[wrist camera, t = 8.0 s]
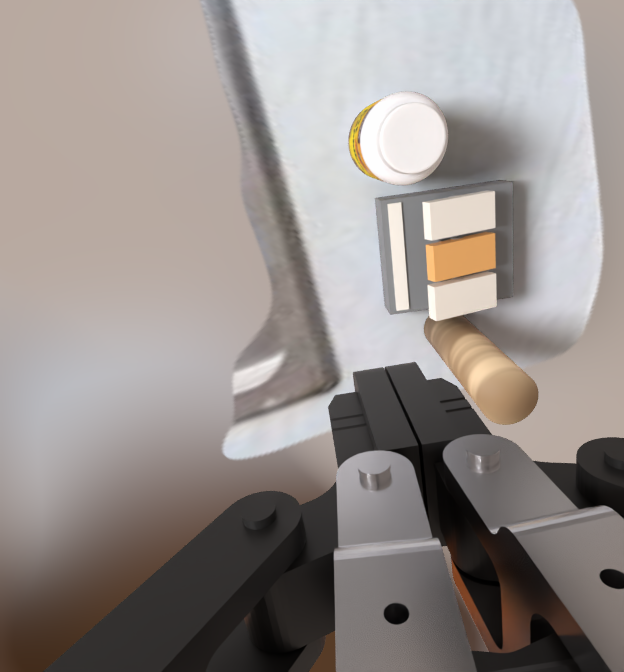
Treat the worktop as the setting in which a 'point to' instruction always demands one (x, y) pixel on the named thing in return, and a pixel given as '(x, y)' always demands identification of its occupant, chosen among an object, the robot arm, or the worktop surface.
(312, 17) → the worktop surface
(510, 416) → the pine post
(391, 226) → the board
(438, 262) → the paddle middle
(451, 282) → the paddle near post
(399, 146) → the supplement bottle
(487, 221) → the paddle near bottle
